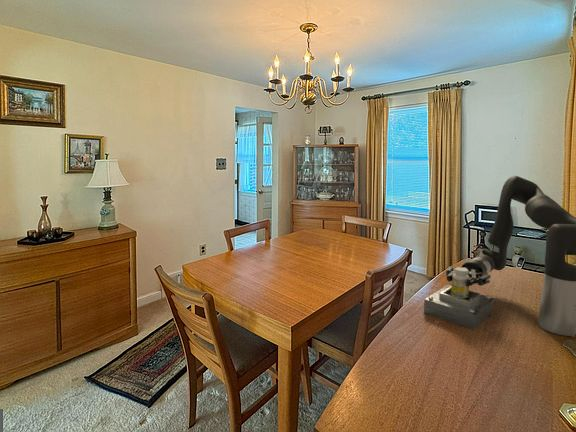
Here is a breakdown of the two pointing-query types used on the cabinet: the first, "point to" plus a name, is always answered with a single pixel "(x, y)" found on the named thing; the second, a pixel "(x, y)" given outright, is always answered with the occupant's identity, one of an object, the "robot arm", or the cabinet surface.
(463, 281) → the supplement bottle
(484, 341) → the cabinet surface
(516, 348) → the cabinet surface
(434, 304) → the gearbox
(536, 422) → the cabinet surface
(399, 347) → the cabinet surface
